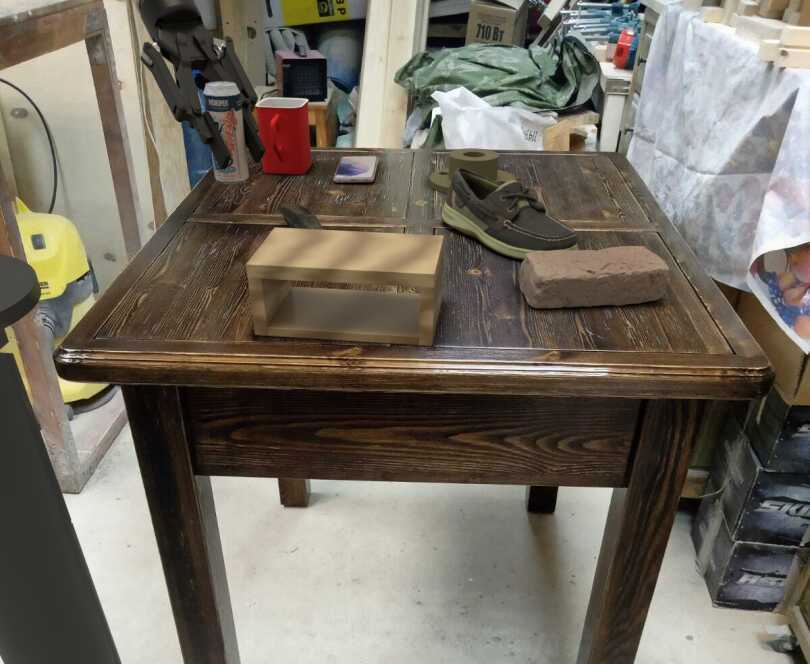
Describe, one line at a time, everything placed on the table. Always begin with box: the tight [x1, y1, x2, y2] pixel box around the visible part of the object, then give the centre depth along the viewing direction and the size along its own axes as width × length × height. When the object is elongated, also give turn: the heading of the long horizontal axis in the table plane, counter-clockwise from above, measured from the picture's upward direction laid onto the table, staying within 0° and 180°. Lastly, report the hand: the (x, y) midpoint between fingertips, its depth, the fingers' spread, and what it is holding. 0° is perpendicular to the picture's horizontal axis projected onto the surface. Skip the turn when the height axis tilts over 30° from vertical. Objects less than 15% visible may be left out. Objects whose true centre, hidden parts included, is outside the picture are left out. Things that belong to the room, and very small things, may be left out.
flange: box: [428, 147, 517, 194], centre depth 131 cm, size 5×15×15 cm
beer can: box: [203, 81, 250, 185], centre depth 105 cm, size 5×5×12 cm
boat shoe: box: [440, 167, 579, 261], centre depth 107 cm, size 10×25×8 cm, turn 45°
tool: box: [276, 202, 327, 230], centre depth 108 cm, size 21×8×3 cm, turn 29°
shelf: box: [245, 227, 445, 347], centre depth 86 cm, size 20×12×8 cm, turn 83°
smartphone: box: [333, 155, 379, 184], centre depth 137 cm, size 7×1×15 cm
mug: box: [254, 96, 313, 176], centre depth 134 cm, size 12×8×11 cm
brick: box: [518, 245, 670, 309], centre depth 93 cm, size 17×8×5 cm, turn 97°
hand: (243, 159), depth 104 cm, fingers closed on beer can, 5 cm apart
